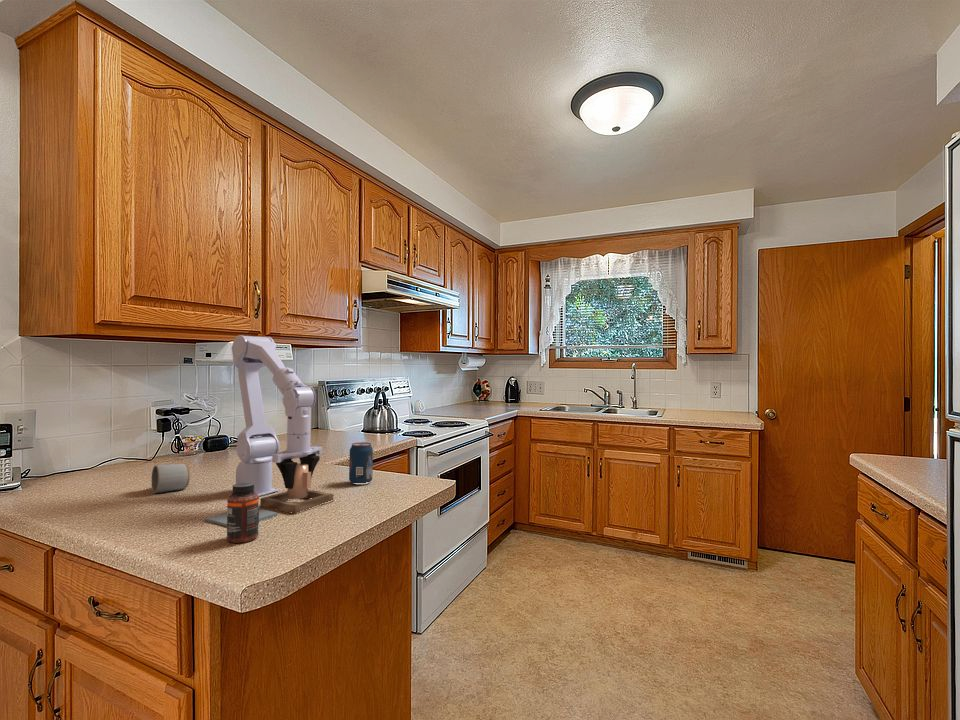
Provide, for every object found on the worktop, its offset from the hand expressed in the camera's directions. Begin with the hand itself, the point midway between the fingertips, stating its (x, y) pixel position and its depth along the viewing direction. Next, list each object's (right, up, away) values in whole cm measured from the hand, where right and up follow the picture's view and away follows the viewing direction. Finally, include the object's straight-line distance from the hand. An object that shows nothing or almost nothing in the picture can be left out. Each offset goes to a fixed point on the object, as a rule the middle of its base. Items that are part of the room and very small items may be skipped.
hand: (297, 485), depth 124 cm
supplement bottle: (-2, -5, -25) cm, 26 cm away
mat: (-9, -4, -12) cm, 15 cm away
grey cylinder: (-41, -5, +12) cm, 43 cm away
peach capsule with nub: (0, -3, 0) cm, 3 cm away
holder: (0, -5, 0) cm, 5 cm away
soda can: (+11, -5, +23) cm, 25 cm away
